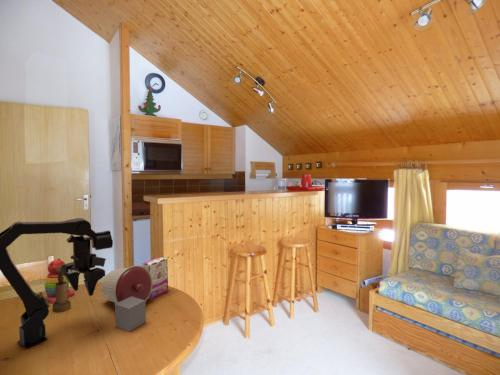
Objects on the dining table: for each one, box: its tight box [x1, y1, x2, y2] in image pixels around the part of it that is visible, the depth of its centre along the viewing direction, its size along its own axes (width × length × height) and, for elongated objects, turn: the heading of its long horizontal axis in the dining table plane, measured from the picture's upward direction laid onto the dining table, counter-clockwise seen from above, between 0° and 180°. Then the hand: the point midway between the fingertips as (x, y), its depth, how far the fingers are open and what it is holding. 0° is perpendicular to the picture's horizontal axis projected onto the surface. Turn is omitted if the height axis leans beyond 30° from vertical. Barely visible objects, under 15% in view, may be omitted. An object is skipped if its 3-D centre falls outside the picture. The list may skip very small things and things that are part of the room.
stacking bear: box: [44, 258, 75, 304], centre depth 139 cm, size 11×10×18 cm
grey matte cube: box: [114, 296, 147, 333], centre depth 117 cm, size 8×8×9 cm
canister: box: [101, 265, 152, 304], centre depth 134 cm, size 18×18×21 cm
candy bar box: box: [142, 256, 169, 300], centre depth 144 cm, size 11×5×16 cm, turn 148°
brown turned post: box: [52, 267, 72, 313], centre depth 129 cm, size 7×6×18 cm
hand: (83, 293), depth 115 cm, fingers open, 9 cm apart
